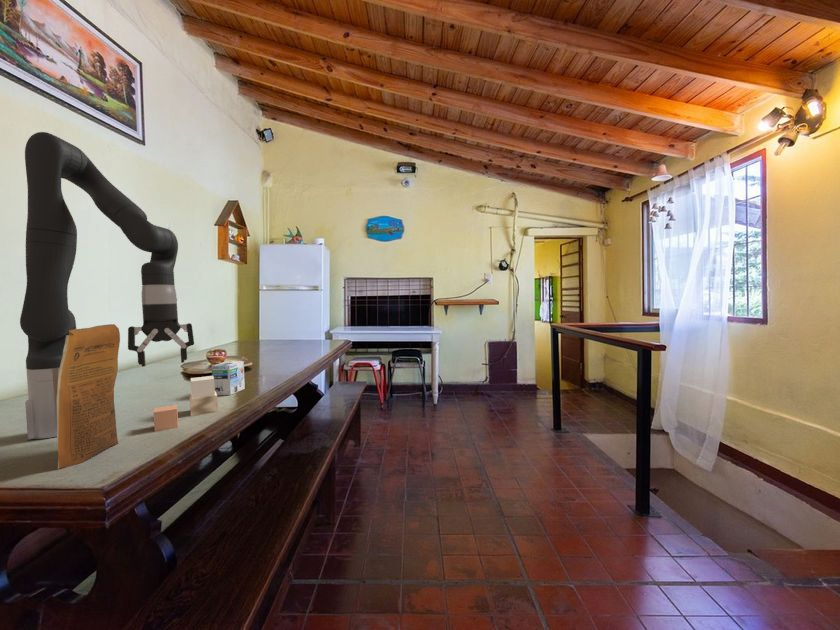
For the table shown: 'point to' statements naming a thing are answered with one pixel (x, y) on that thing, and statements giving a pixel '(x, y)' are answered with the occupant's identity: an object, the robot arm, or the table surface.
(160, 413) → the terracotta block
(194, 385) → the tower top block
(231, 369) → the light bulb box
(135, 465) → the table surface
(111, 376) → the pancake mix bag
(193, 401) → the tower base block
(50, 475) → the table surface
